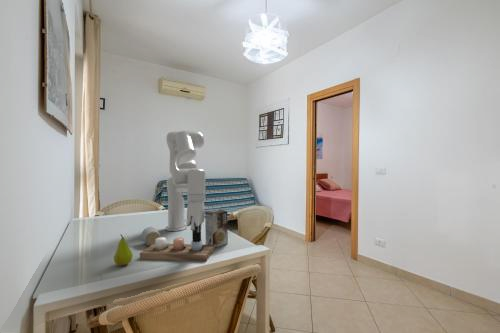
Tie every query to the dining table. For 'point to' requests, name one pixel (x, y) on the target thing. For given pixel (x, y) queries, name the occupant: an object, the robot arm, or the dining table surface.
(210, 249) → the walnut board
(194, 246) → the blue egg
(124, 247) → the fruit
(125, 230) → the dining table surface
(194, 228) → the robot arm
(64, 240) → the dining table surface
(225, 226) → the coffee box
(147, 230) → the ceramic mug
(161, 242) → the white egg
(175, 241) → the salmon domed cylinder
